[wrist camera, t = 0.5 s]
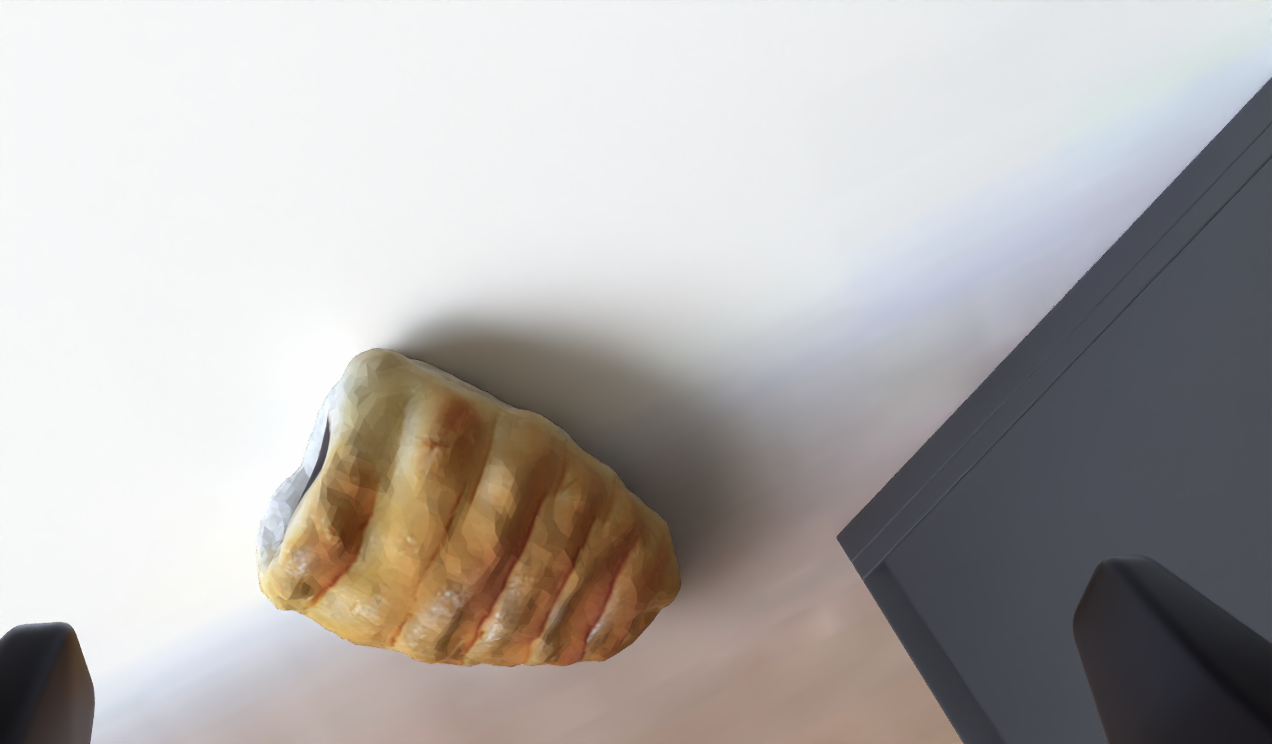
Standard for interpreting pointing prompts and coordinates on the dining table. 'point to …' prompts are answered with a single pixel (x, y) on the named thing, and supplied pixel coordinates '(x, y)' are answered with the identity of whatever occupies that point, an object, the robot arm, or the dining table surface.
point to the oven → (1096, 459)
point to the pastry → (460, 528)
